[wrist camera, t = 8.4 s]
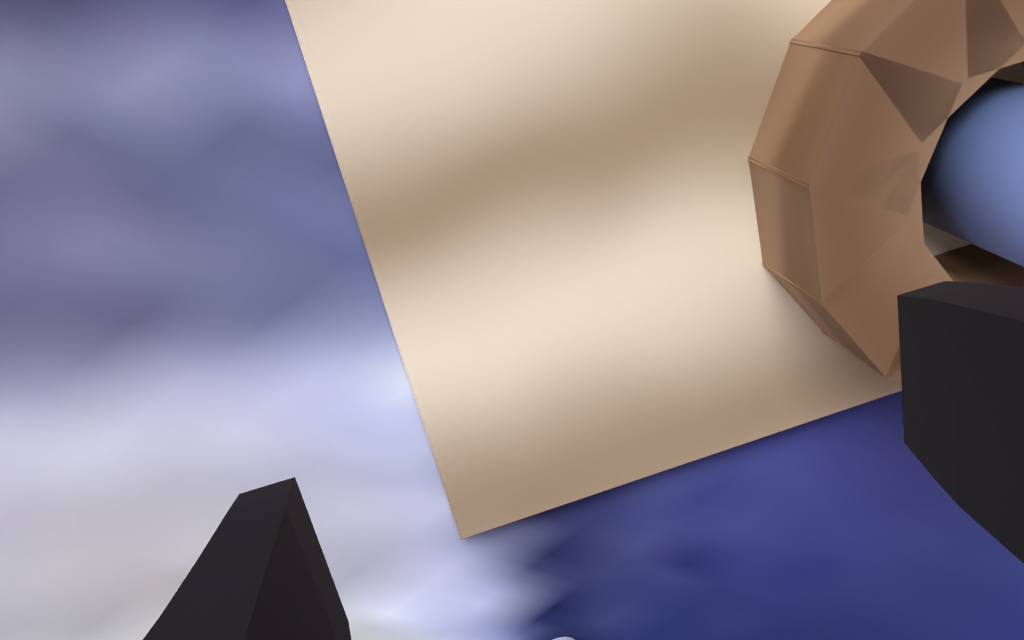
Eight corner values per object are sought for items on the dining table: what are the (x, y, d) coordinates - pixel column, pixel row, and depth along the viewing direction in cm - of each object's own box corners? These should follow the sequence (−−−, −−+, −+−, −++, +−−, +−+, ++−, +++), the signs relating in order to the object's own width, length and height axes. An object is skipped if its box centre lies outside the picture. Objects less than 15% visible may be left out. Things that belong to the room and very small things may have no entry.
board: (1138, 295, 23) (1158, 303, 23) (456, 524, 22) (460, 539, 21) (1168, -361, 18) (1196, -371, 17) (245, -125, 16) (243, -128, 15)
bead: (1125, 279, 22) (1218, 316, 20) (780, 394, 22) (836, 447, 19) (1140, -125, 19) (1256, -136, 16) (724, -7, 18) (787, 0, 16)
